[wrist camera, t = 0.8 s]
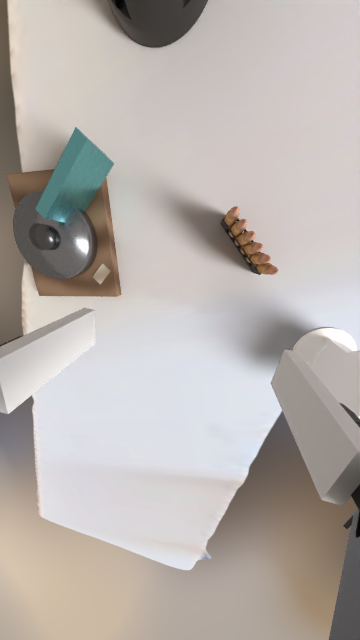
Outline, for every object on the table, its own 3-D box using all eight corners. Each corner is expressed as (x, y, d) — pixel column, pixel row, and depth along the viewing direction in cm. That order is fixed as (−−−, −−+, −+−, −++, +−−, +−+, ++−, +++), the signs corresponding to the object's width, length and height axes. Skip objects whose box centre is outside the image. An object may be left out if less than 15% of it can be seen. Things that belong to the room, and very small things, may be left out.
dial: (73, 291, 39) (45, 299, 32) (17, 240, 37) (-24, 238, 30) (142, 193, 31) (123, 176, 24) (75, 123, 29) (35, 85, 23)
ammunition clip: (220, 223, 33) (224, 207, 22) (229, 215, 32) (238, 195, 21) (253, 273, 35) (274, 282, 24) (263, 266, 34) (288, 273, 23)
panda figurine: (328, 388, 40) (391, 461, 26) (278, 367, 40) (314, 428, 26) (369, 342, 35) (472, 399, 22) (313, 318, 36) (379, 360, 22)
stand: (16, 178, 36) (4, 174, 34) (105, 169, 33) (98, 164, 31) (46, 293, 43) (38, 295, 41) (121, 294, 40) (116, 296, 38)
